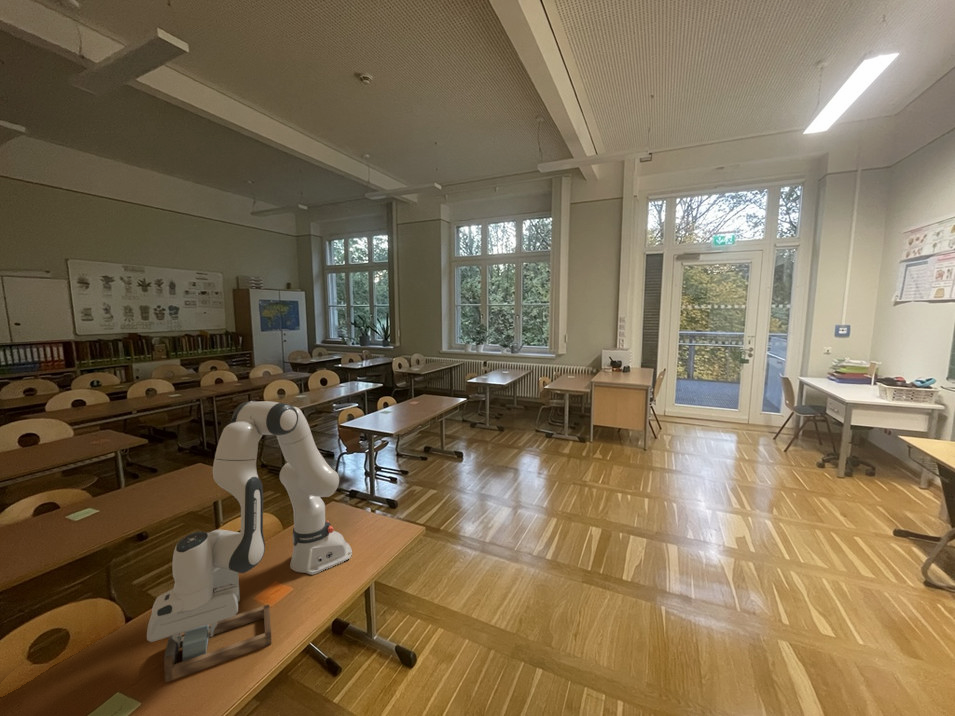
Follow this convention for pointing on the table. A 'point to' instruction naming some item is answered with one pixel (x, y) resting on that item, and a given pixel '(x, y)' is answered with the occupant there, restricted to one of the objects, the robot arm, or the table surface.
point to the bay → (223, 653)
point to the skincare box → (225, 578)
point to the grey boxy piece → (195, 642)
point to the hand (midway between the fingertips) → (196, 640)
